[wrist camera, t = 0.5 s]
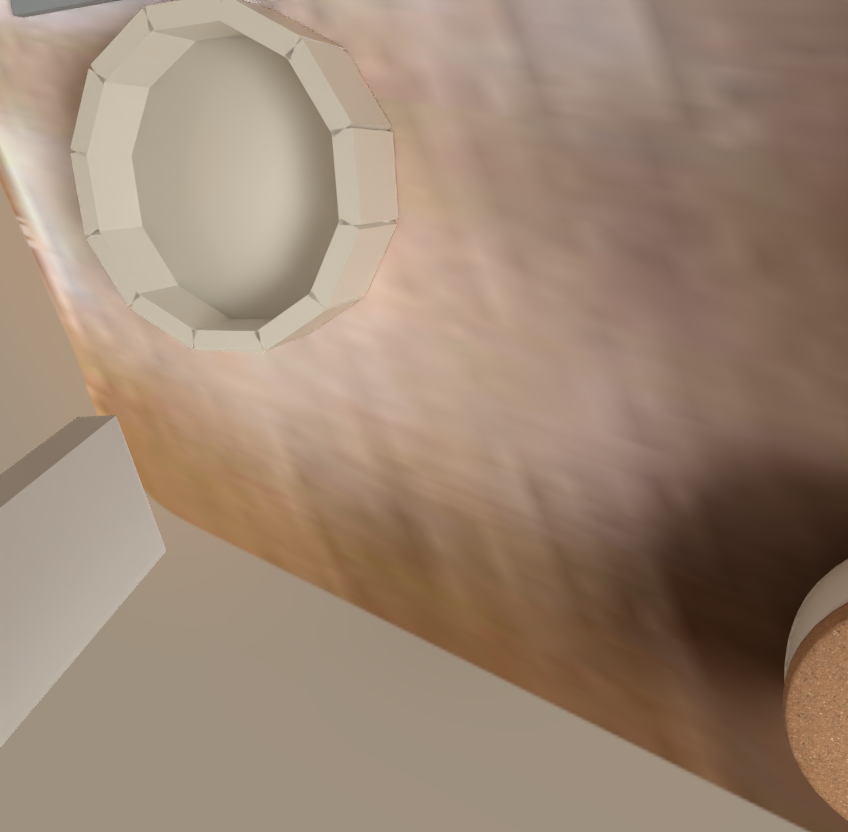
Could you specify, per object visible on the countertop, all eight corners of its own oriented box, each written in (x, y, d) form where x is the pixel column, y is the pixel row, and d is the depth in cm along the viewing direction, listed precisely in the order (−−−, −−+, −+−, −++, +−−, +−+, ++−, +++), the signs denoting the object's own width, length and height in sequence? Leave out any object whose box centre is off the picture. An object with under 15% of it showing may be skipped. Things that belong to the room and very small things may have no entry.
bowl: (110, 35, 39) (46, 23, 35) (384, -8, 33) (341, -28, 30) (157, 332, 43) (104, 347, 39) (405, 337, 37) (370, 356, 34)
